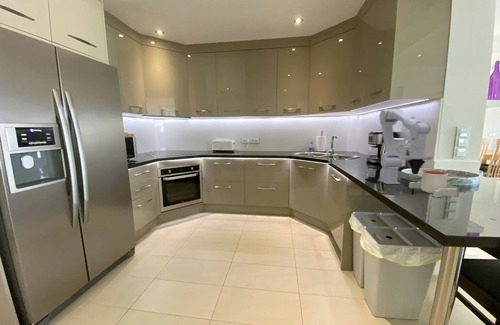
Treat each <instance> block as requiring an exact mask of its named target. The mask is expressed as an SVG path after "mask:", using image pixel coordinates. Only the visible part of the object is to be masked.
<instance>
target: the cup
mask: <svg viewBox="0 0 500 325" xmlns="http://www.w3.org/2000/svg"><path fill="white" fill-rule="evenodd" d="M448 176H449V174H448V173H447V172H442V171H435V170H423V171H422V172H421V181H420V182H421V189H420V190H421V191H422V192H425V193H427V194H433V190H436V189H446V186H447V184H448V178H449V177H448Z"/></svg>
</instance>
